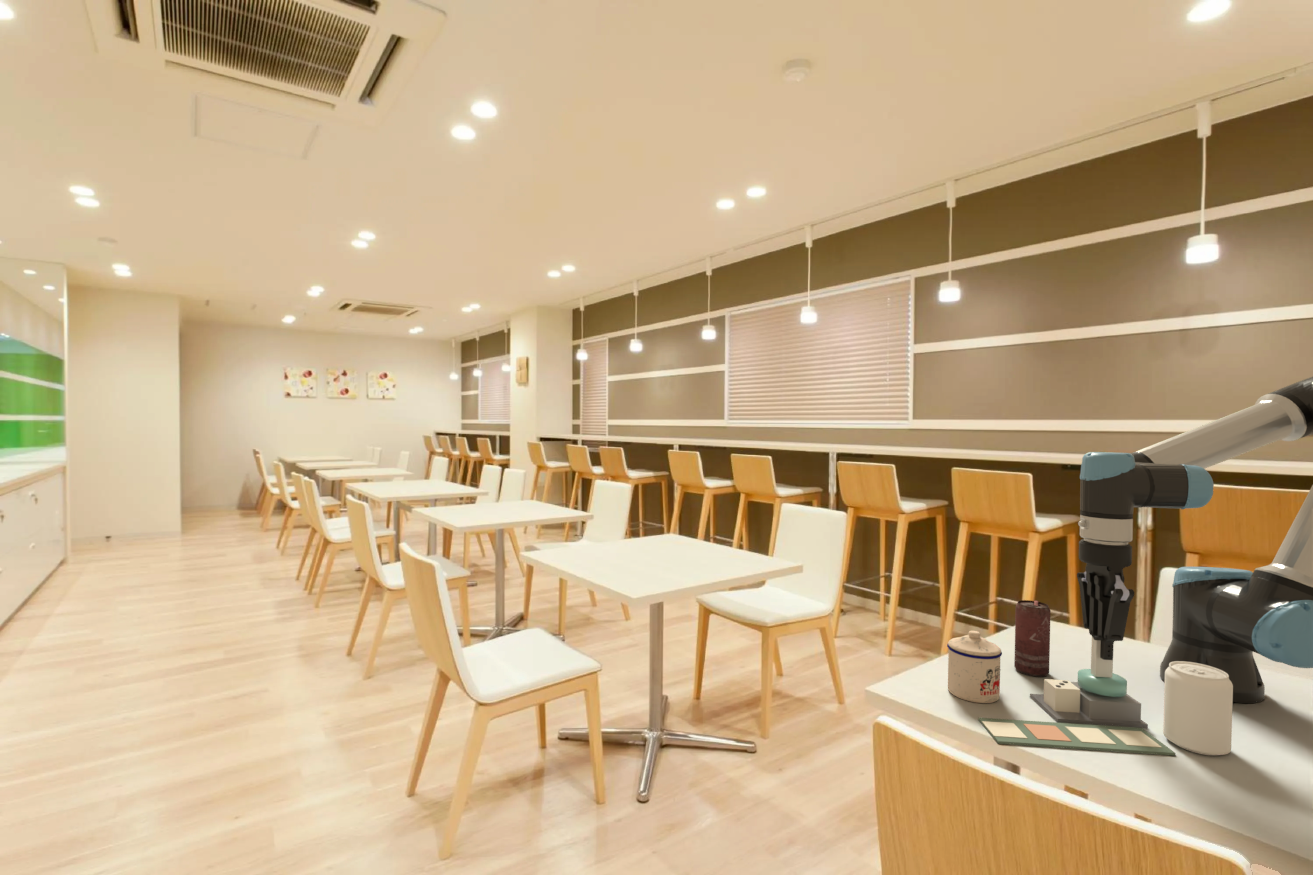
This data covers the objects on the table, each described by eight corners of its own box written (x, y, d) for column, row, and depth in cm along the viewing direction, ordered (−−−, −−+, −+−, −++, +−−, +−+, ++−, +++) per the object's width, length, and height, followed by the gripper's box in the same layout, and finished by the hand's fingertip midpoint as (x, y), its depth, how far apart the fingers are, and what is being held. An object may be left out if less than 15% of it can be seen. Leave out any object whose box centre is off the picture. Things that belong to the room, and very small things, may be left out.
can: (1049, 669, 129) (1050, 601, 129) (1048, 679, 124) (1050, 609, 124) (1015, 663, 132) (1016, 597, 132) (1013, 673, 127) (1015, 604, 127)
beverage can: (1216, 763, 93) (1218, 683, 93) (1152, 739, 101) (1154, 664, 100) (1240, 751, 97) (1243, 674, 97) (1178, 728, 104) (1180, 656, 104)
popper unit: (1111, 701, 114) (1112, 675, 114) (1147, 727, 104) (1148, 699, 104) (1029, 696, 116) (1030, 671, 116) (1057, 722, 106) (1058, 694, 106)
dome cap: (1111, 697, 113) (1111, 670, 113) (1135, 715, 106) (1136, 686, 106) (1069, 695, 114) (1069, 667, 114) (1090, 712, 107) (1091, 683, 107)
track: (1141, 730, 103) (1141, 727, 103) (1175, 755, 96) (1175, 752, 96) (978, 719, 107) (978, 716, 107) (997, 743, 99) (998, 740, 99)
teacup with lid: (989, 709, 111) (991, 643, 110) (937, 692, 117) (939, 630, 117) (1014, 690, 119) (1015, 629, 118) (964, 675, 125) (965, 618, 125)
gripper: (1062, 533, 116) (1059, 660, 117) (1103, 547, 103) (1099, 689, 104) (1106, 535, 115) (1103, 662, 116) (1153, 548, 102) (1149, 692, 103)
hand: (1101, 675), depth 110 cm, fingers closed
